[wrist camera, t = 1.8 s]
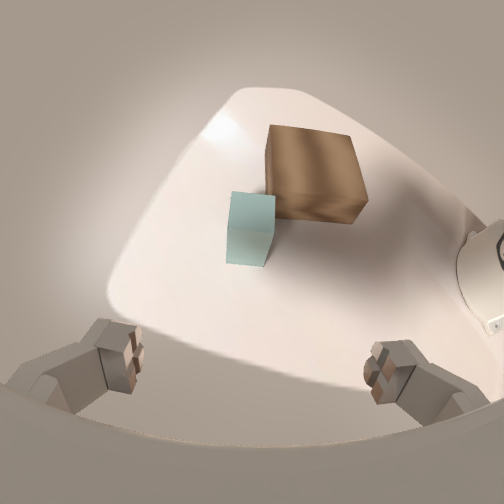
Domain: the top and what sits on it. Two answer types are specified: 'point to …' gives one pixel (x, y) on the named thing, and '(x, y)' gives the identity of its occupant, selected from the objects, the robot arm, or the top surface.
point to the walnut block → (313, 175)
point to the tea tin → (250, 228)
